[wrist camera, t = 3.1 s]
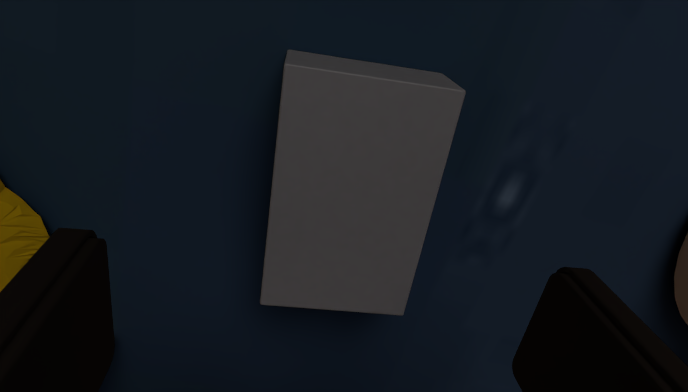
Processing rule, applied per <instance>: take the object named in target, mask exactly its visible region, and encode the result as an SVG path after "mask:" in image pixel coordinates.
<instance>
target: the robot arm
mask: <svg viewBox="0 0 688 392" xmlns="http://www.w3.org/2000/svg"><path fill="white" fill-rule="evenodd" d="M674 292H675V300H676V303H677V306H678V309H679V312H680V315H681V317H682V318H683V319H684V321H685V322H686V323H687V325H688V232H687V235H686V237H685V239H684V242H683V244H682V246H681V249H680V251H679V255H678V259H677V264H676V269H675V274H674ZM114 347H115V344H114V331H113V318H112V306H111V294H110V281H109V269H108V257H107V245H106V241H105V240H104V239H99V238H97V236H96V234H95V232H94V231H93V230H82V229H69V228H58V229H57V230H56V231H55V232H54V233H53V234H52V235H51V236H50V237H49V238H48V239H47V241H46V242H45V243H44V244H43V245H42V246H41V247H40V248H39V249H38V251H37V252H36V253H35V254H34V255H33V256H32V257H31V258H30V259H29V261H28V262H27V263H26V264H25V265H24V266H23V267H22V268H21V269H20V271H19V272H18V273H17V274H16V275H15V276H14V277H13V278H12V279H11V281H10V282H9V283H8V284H7V285H6V286H5V287H4V288H3V289H2V291H1V292H0V392H98V391H99V389H100V386H101V384H102V382H103V380H104V378H105V375H106V373H107V371H108V369H109V367H110V364H111V362H112V358H113V354H114ZM512 369H513V374H514V376H515V379H516V380H517V382H518V384H519V386H520V388H521V389H522V391H523V392H688V366H687V365H686V364H685V363H684V362H683V361H682V360H681V359H680V358H679V357H678V356H677V355H676V354H675V353H674V352H673V351H672V350H671V349H670V348H669V347H668V346H667V345H666V344H665V343H664V342H663V341H662V340H661V339H660V338H659V337H658V336H657V335H656V334H655V333H654V332H653V331H652V330H651V329H650V328H649V327H648V326H647V325H646V324H645V323H644V322H643V321H642V320H641V319H640V318H639V317H638V316H637V315H636V314H635V313H634V312H633V311H632V310H631V309H630V308H629V307H628V306H627V305H626V304H625V303H624V302H623V301H622V300H621V299H620V298H619V297H618V296H617V295H616V294H615V293H614V292H613V291H612V290H611V289H610V288H609V287H608V286H607V285H606V284H605V283H604V282H603V281H602V280H601V279H600V278H599V277H598V276H597V275H596V274H595V273H594V272H592V271H591V270H589V269H583V268H570V267H563V268H560V269H559V270H557V272H556V273H553V274H552V275H551V276H550V278H549V280H548V282H547V284H546V286H545V289H544V291H543V293H542V295H541V298H540V300H539V302H538V304H537V307H536V309H535V311H534V314H533V316H532V318H531V320H530V323H529V325H528V327H527V329H526V332H525V334H524V336H523V338H522V341H521V343H520V345H519V347H518V350H517V352H516V354H515V356H514V359H513V363H512Z"/></svg>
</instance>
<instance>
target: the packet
mask: <svg viewBox="0 0 688 392" xmlns="http://www.w3.org/2000/svg"><path fill="white" fill-rule="evenodd" d="M465 93H466V91H465V90H464V89H462V88H461V87H460V86H458V85H457V84H456V83H454V82H453V81H451V80H450V79H449V78H447V77H446V76H445V75H443V74H442V73H436V72H430V71H423V70H417V69H410V68H404V67H398V66H391V65H385V64H378V63H372V62H365V61H359V60H353V59H346V58H340V57H333V56H327V55H321V54H314V53H308V52H301V51H295V50H288V51H287V55H286V59H285V63H284V70H283V80H282V89H281V99H280V109H279V119H278V129H277V139H276V149H275V159H274V169H273V178H272V188H271V198H270V208H269V218H268V228H267V238H266V248H265V257H264V267H263V277H262V287H261V297H260V304H261V305H272V306H285V307H299V308H312V309H325V310H338V311H351V312H364V313H377V314H390V315H403V314H404V310H405V307H406V303H407V299H408V296H409V292H410V289H411V285H412V282H413V278H414V274H415V271H416V267H417V264H418V260H419V257H420V253H421V250H422V246H423V242H424V239H425V235H426V232H427V228H428V225H429V221H430V218H431V214H432V210H433V207H434V203H435V200H436V196H437V193H438V189H439V186H440V182H441V178H442V175H443V171H444V168H445V164H446V161H447V157H448V153H449V150H450V146H451V143H452V139H453V136H454V132H455V129H456V125H457V121H458V118H459V114H460V111H461V107H462V104H463V100H464V97H465Z"/></svg>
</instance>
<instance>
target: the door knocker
mask: <svg viewBox="0 0 688 392" xmlns="http://www.w3.org/2000/svg"><path fill="white" fill-rule="evenodd" d="M49 237H50V236H49V235H48V233H47V230H46V228H45V226H44V224H43V222H42V219H41V216H39V215H38V214H37V213H36V212H34V211H33V210H32V208H31V207H30V206H29V205H28V204H27V203H26V202H25V201H24V200H23V199H21V198H20V197H19V196H17V195H16V194H15V193H13V192H12V191H10V190H9V189H7V188H6V187H5V186H4V184H3V183H2V181H1V180H0V292H1V291H2V289H3V288H4V287H5V286H6V285H7V284H8V283H9V282H10V281H11V279H12V278H13V277H14V276H15V275H16V274H17V273H18V272H19V271H20V269H21V268H22V267H23V266H24V265H25V264H26V263H27V262H28V261H29V259H30V258H31V257H32V256H33V255H34V254H35V253H36V252H37V251H38V249H39V248H40V247H41V246H42V245H43V244H44V243H45V242H46V241H47V239H48V238H49Z"/></svg>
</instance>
